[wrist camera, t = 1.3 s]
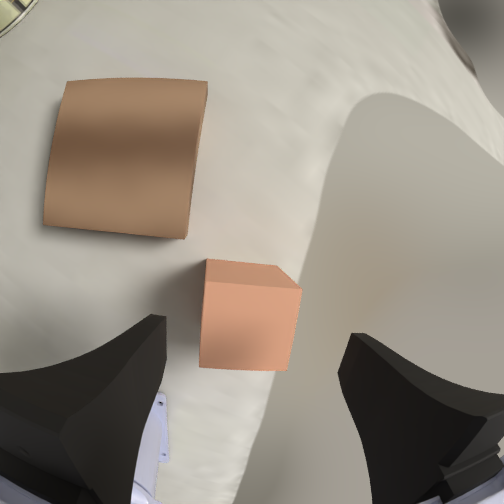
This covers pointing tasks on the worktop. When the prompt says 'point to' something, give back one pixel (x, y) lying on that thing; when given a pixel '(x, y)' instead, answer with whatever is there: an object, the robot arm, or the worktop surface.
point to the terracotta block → (247, 316)
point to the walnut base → (125, 155)
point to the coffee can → (13, 13)
